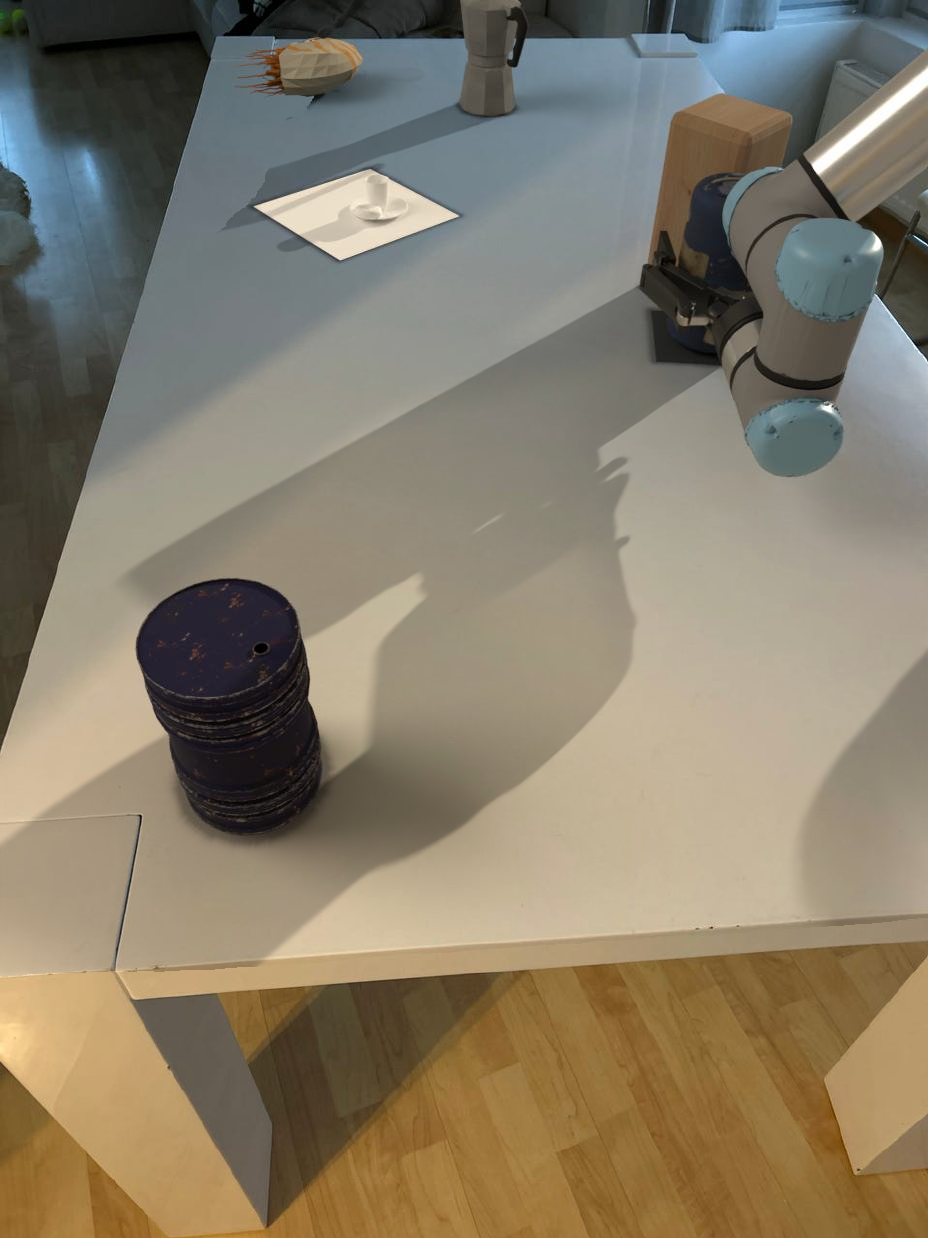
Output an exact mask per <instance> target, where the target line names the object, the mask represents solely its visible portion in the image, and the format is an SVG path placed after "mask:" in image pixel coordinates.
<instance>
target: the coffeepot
mask: <svg viewBox="0 0 928 1238" xmlns="http://www.w3.org/2000/svg"><path fill="white" fill-rule="evenodd" d="M459 1H460V9H461V10H460V11H461V19H462V28H463V29H462V30H463V38H464V46H465V49H466V51H467V61H466V63H465V67H464V73H463V79H462V85H461V90H460V97H459V102H458V103H459V105H460V107H461V109H462V111H464V112H466V113H467V114H471V115H474V116H479V117H499V116H504V115H507V114H509V113H511V112H512V111H513V109H514V108H515V107H516V100H515V89H514V79H513V78H514V77H513V70H512V68H514V69H515V68H517V67H518V66H519V62H520V59H521V55H522V52H523V48H524V45H525V41H526V38H527V36H528V35H527V34H528V31H529V27H530V26H529V25H530V24H529V20H528V17H527V15H526V12H525V10H524V9H523V8H522V3H521V2H520V1H519V0H459ZM511 52H512V59H511V58H510V54H511Z"/></svg>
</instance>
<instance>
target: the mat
mask: <svg viewBox="0 0 928 1238" xmlns="http://www.w3.org/2000/svg"><path fill="white" fill-rule="evenodd" d="M650 316H651V323H652V335H653V344H654V355H655V362H657V363H672V364H673V363H675V364H689V365H691V364H692V365H706V366H707V365H708V366H722V365H721V363H720V360H719V357H718V354H717V353H704V352H698V351H695V350H692V349H689V348H687V347H685V346H683V345H681V344H680V343H678V342H677V341H676V340H675V339H674V338H673V337H672V336H671V335H670V333H669V331H668V327H667V318H668V315H667V314H665V313H664V312H663V311H662V310H653V309H652V310H651V311H650Z"/></svg>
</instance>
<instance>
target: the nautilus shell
mask: <svg viewBox="0 0 928 1238" xmlns="http://www.w3.org/2000/svg"><path fill="white" fill-rule="evenodd" d="M273 52H274V53H275V54H273ZM262 53H271V54H266V55H264V54H262ZM242 57H245V58H249V61H252V60H262V59H264V61H260V62H254V63H253V62H251V63H242V64H236V65H233V68H234V67H235V68H236V67H242V66H261V65H265V66H263V70H265V69H266V68H267V67H268V66H270V69H267V70H265V72H264V73H262V74H252V75H247V76H237V77H236V78H237V79H247V78H249V79H250V78H254V77H256V78H261V77H262V78H263V79H264V80H266V81H267V82H263V83H258V84H252V85H244V86H243V85H242V86H239V85H238V86H234V87H235V88H253V91H251V92H249V93H248V94H249V95H250V94H253V93H256V92H258V93H261V94H268V95H267V96H264V97H263V99H265V98H268V97H272V96H275V95H283V94H284V95H285V96H301V97H306V98H309V97H315V96H319V95H322V94H325V93H328V92H331V91H333V90H335V89H337V88H339V87H340V86H342V85H344V84H345V83H347V82H349V81H350V80H352V79H353V78H354V76H355V75H356V74H357V72H358V70H359V68H360V66H361V65H362V62H363V59H364V58H363V56H362V55H361V53H359V51H358V49H357V48H356V47H355V45H353V44H351V43H348V42H346V41H344V40H340V39H337V38H331V37H325V38H321V37H320V36H317V37H311V38H308V39H306V40H303V41H299V42H295V41H294V42H291V43H289V44H287V45H286V46H283V47H276V48H274V49H268V50H267V49H263V50H259V49H256V52H252V53H250V54H249V55H242ZM253 57H254V58H253ZM265 76H266V77H272V78H273V79H267V78H266V77H265ZM257 88H259V89H260V90H259V89H257ZM268 90H276V91H268Z"/></svg>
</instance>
